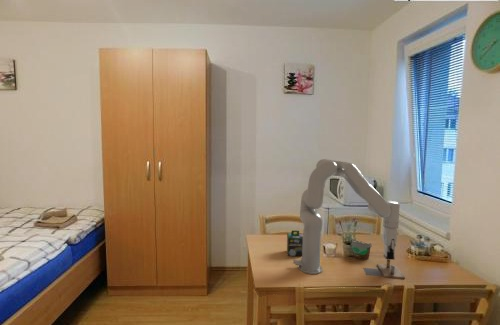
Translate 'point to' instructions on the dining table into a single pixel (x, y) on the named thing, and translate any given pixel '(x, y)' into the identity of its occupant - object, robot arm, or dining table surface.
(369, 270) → the mat
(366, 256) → the food container
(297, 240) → the chalk box
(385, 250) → the sleeve
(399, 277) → the pinboard
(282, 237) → the dining table surface
